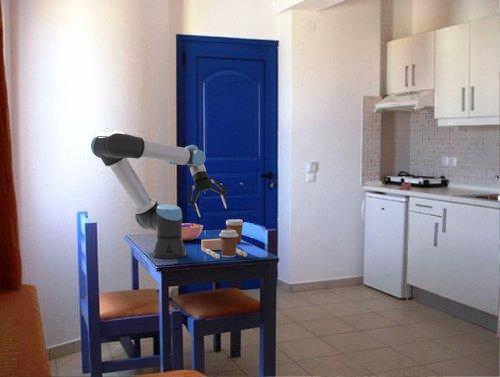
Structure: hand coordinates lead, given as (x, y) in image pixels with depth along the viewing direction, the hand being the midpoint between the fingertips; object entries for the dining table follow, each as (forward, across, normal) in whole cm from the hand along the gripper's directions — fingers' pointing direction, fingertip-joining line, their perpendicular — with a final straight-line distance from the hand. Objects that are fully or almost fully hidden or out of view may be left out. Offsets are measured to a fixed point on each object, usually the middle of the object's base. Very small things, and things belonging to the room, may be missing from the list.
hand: (212, 211), depth 289 cm
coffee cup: (+25, 0, +4) cm, 25 cm away
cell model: (-1, +17, -33) cm, 37 cm away
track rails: (+22, +1, -1) cm, 22 cm away
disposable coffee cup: (+11, -7, -27) cm, 30 cm away
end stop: (+16, +4, -10) cm, 19 cm away
